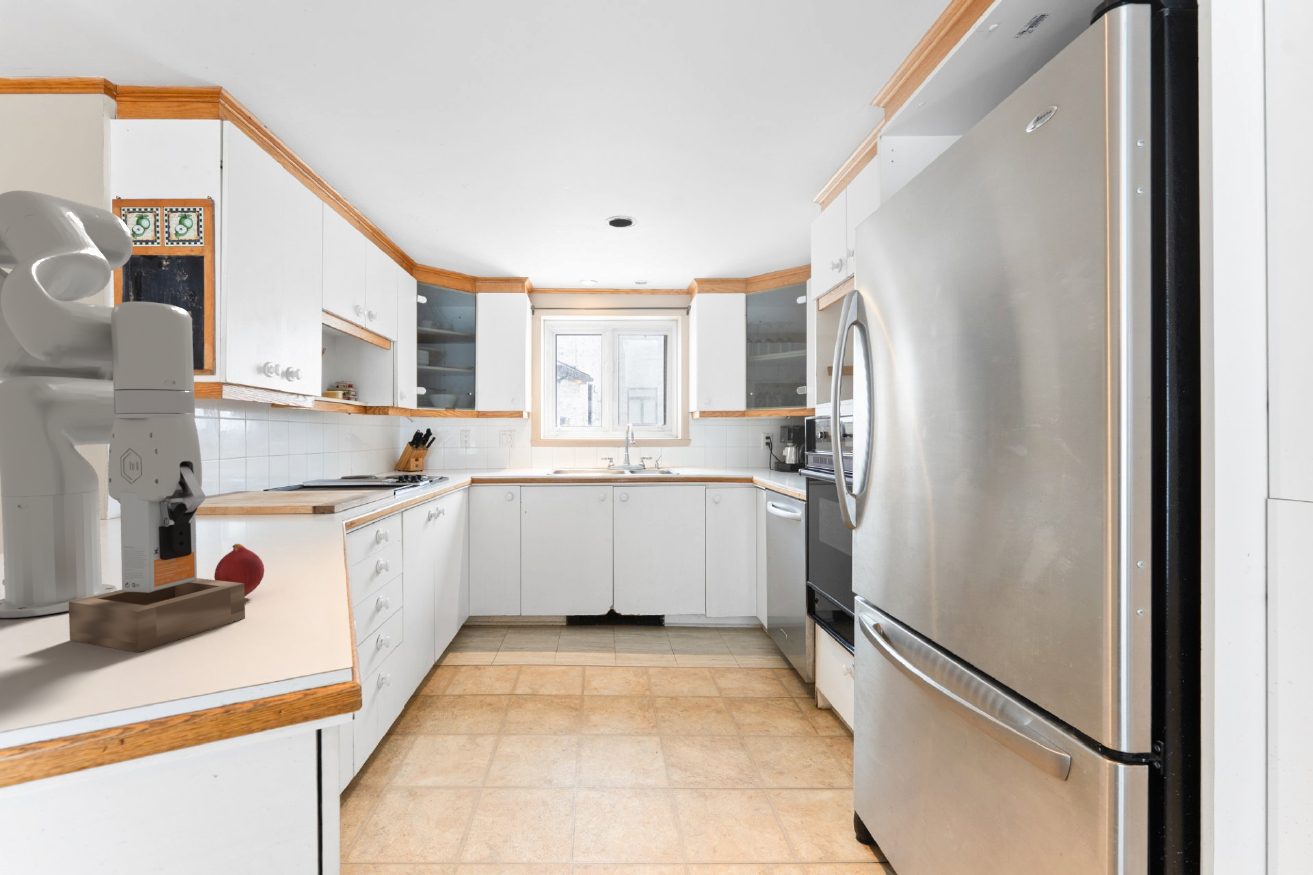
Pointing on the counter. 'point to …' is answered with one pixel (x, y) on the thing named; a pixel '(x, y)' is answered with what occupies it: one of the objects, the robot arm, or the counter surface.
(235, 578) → the onion
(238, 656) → the counter surface
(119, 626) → the wooden tray
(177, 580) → the skincare box
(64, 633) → the counter surface
